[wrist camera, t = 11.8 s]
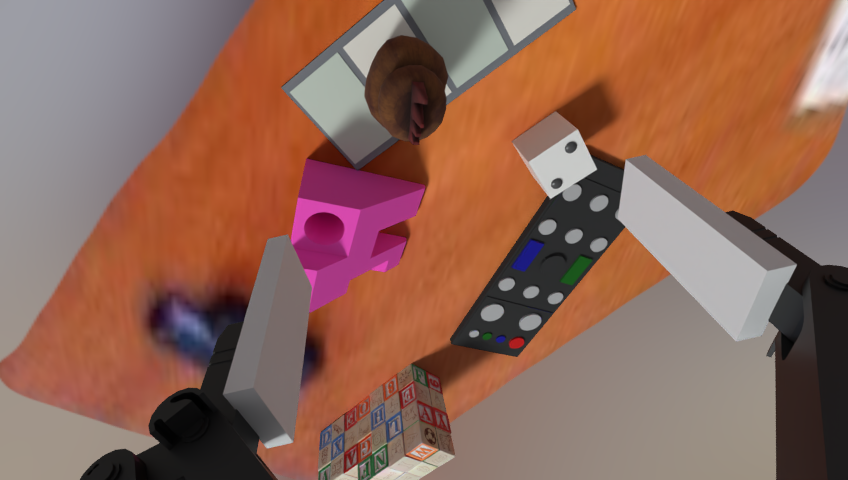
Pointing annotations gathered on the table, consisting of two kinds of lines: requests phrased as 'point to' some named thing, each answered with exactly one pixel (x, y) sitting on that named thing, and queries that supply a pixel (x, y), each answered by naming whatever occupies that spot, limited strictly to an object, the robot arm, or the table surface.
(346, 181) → the bracket
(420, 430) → the stack of blocks
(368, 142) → the game mat
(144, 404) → the table surface
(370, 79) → the wooden figurine
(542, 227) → the remote control
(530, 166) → the die
